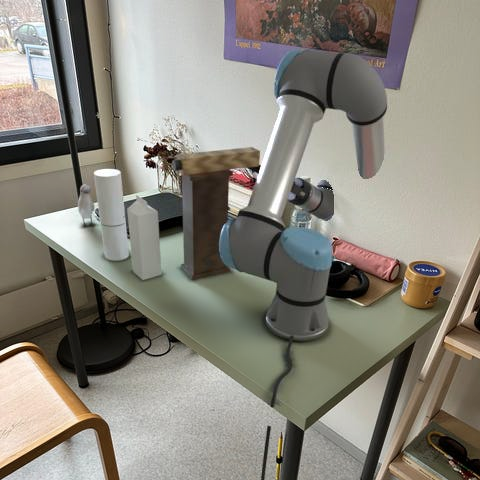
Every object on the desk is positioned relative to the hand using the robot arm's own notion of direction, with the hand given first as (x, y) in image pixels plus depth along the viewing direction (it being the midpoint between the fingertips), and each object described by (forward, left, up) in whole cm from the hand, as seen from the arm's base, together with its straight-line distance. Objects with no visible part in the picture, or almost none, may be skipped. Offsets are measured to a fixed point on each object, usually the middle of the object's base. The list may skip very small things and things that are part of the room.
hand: (251, 164), depth 127 cm
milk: (-20, +23, -29) cm, 42 cm away
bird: (+1, +58, -29) cm, 65 cm away
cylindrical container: (-14, +37, -29) cm, 49 cm away
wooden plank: (-8, +6, 0) cm, 10 cm away
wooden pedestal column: (-11, +9, -29) cm, 32 cm away
